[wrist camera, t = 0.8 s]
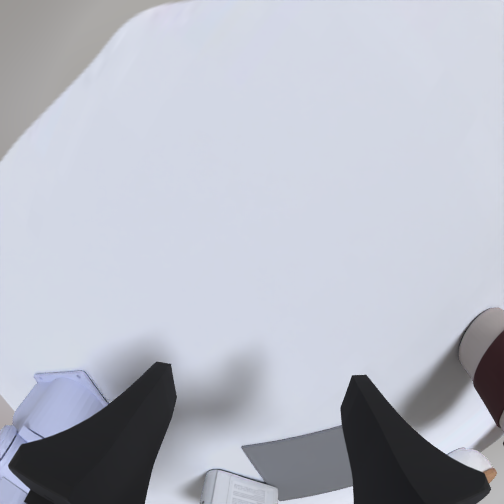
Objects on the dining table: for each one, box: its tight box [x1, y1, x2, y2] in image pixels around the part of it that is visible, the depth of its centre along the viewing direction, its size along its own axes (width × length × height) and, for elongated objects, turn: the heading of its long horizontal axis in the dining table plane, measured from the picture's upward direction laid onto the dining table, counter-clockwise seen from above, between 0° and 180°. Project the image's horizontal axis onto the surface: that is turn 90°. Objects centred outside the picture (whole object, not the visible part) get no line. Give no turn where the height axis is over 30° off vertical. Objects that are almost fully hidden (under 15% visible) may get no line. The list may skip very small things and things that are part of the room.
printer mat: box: [242, 425, 353, 501], centre depth 28 cm, size 14×18×1 cm
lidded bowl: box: [447, 448, 497, 483], centre depth 26 cm, size 13×13×11 cm
